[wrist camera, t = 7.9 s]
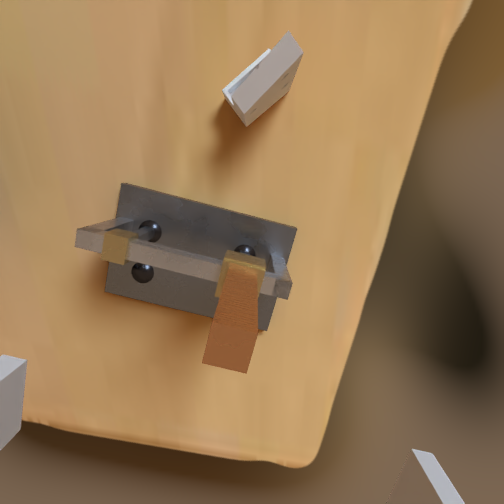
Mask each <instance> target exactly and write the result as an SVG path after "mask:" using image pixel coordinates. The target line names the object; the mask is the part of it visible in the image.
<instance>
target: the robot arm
mask: <svg viewBox="0 0 504 504" xmlns="http://www.w3.org/2000/svg"><path fill="white" fill-rule="evenodd" d="M26 367H27V360H25V359H21V358H16V357H12V356H8V355H2V356H1V357H0V450H1V449H2V448H3V447H4V446H5V445H6V444H7V443H8V442H9V441H10V440H11V439H12V438H13V437H14V436H15V434H16V433H17V432H18V431H19V430H20V429H21V418H22V408H23V398H24V388H25V378H26ZM386 504H465V503H464V502H463V500H462V498H461V497H460V496H459V494H458V492H457V491H456V489H455V488H454V486H453V485H452V483H451V481H450V480H449V478H448V477H447V475H446V474H445V472H444V471H443V469H442V468H441V466H440V464H439V463H438V461H437V460H436V458H435V457H434V455H433V454H432V453H428V452H424V451H420V450H415V449H411V451H410V453H409V455H408V457H407V459H406V461H405V464H404V466H403V468H402V470H401V472H400V474H399V477H398V479H397V481H396V483H395V485H394V487H393V489H392V492H391V494H390V496H389V498H388V500H387V502H386Z"/></svg>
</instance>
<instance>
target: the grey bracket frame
mask: <svg viewBox="0 0 504 504" xmlns="http://www.w3.org/2000/svg"><path fill="white" fill-rule="evenodd" d="M133 223H134V220H131V219H127V218H123V217H119V218H115V219H112V220H108V221H104V222H101V223H97V224H93V225H90V226H86V227H83V228H79V229H77V234H76V242H75V247H78V248H82V249H86V250H90V251H94V252H98V253H102V254H101V260H105V261H109V262H113V263H117V264H121V265H125V264H126V263H128V262H130V261H134V262H138V263H142V264H146V265H150V266H154V267H158V268H162V269H166V270H170V271H174V272H178V273H182V274H186V275H190V276H194V277H198V278H202V279H206V280H210V281H214V282H218V280H219V276H220V272H221V268H222V263H223V260H219V259H215V258H211V257H207V256H203V255H199V254H195V253H191V252H187V251H184V250H180V249H176V248H172V247H168V246H164V245H160V244H156V243H152V242H148V241H149V240H150V239H152V238H154V234H155V229H156V228H152V227H148V226H144V227H142V228H140V229H137V230H135V231H132V229H133ZM292 284H293V283H292V280H291V277H290V274H289V272H288V269H287V266H286V263H285V260H284V259H283V258H280V257H276V256H272V255H271V258H270V262H269V265H268V272H267V271H266V272H265V275H264V279H263V282H262V286H261V290H260V293H262V294H266V295H270V296H274V297H279V298H283V299H287V300H288V297H289V293H290V290H291V287H292Z"/></svg>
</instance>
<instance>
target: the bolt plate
mask: <svg viewBox="0 0 504 504" xmlns="http://www.w3.org/2000/svg"><path fill="white" fill-rule="evenodd" d="M119 217H123V218H127V219H131V220H134V223H133V229H132V231H135V230H137V229H140V228H142V227H144V226H148V227H152V228H156V229H155V234H154V238H152V239H150V240H149V241H148V242H152V243H156V244H160V245H164V246H168V247H172V248H176V249H180V250H184V251H187V252H191V253H195V254H199V255H203V256H207V257H211V258H215V259H219V260H224V257H225V254H226V252H227V250H231V251H235V252H239V253H240V251H244V252H248V253H250V255H251V256H255V257H258V258H262V259H265V263H266V269H265V271H267V272H268V265H269V262H270V258H271V255H272V256H276V257H280V258H283V259H284V260H285V263H286V265H287V262H288V258H289V255H290V251H291V248H292V245H293V241H294V238H295V235H296V231H297V228H296V227H293V226H289V225H285V224H281V223H278V222H274V221H270V220H266V219H262V218H258V217H255V216H251V215H247V214H243V213H239V212H235V211H232V210H228V209H224V208H220V207H216V206H212V205H208V204H205V203H201V202H197V201H193V200H189V199H185V198H182V197H178V196H174V195H170V194H166V193H162V192H159V191H155V190H151V189H147V188H143V187H139V186H136V185H132V184H128V183H121V190H120V196H119V202H118V209H117V215H116V218H119ZM217 284H218V282H214V281H210V280H206V279H202V278H198V277H194V276H190V275H186V274H182V273H178V272H174V271H170V270H166V269H162V268H158V267H154V266H150V265H146V264H142V263H138V262H134V261H130V262H128V263H126V264H125V265H121V264H117V263H113V262H109V267H108V273H107V280H106V286H105V292H109V293H113V294H117V295H121V296H125V297H129V298H133V299H137V300H142V301H146V302H150V303H154V304H158V305H162V306H166V307H170V308H174V309H179V310H183V311H187V312H191V313H195V314H199V315H203V316H207V317H211V318H214V314H215V311H216V308H217V305H218V302H219V297H215V292H216V288H217ZM276 299H277V297H274V296H270V295H266V294H262V293H259V297H258V329H261V330H265V331H267V329H268V326H269V322H270V319H271V316H272V312H273V309H274V306H275V302H276Z"/></svg>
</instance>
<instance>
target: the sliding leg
mask: <svg viewBox="0 0 504 504" xmlns="http://www.w3.org/2000/svg"><path fill="white" fill-rule="evenodd" d="M265 269H266V263H265V259H262V258H258V257H255V256H251V255H250V253H248V252H244V251H240V253H239V252H235V251H231V250H227V252H226V254H225V257H224V260H223V263H222V268H221V272H220V276H219V280H218V284H217V288H216V292H215V297H219V302H218V305H217V308H216V311H215V314H214V318H213V321H212V325H211V329H210V333H209V337H208V341H207V345H206V349H205V353H204V357H203V361H202V363H204V364H208V365H212V366H217V367H221V368H225V369H229V370H234V371H238V372H242V373H247V370H248V366H249V363H250V360H251V356H252V353H253V349H254V346H255V342H256V339H257V335H258V297H259V293H260V290H261V286H262V282H263V279H264V275H265V272H266V271H265Z"/></svg>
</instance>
